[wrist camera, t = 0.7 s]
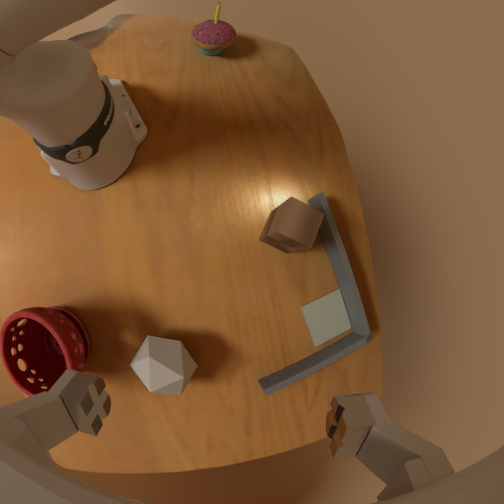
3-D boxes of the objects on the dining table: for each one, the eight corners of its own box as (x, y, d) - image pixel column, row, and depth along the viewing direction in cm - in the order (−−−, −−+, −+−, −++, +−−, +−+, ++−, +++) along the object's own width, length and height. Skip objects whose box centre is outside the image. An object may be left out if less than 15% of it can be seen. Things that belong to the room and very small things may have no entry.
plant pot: (47, 376, 35) (14, 401, 23) (30, 304, 35) (-10, 312, 23) (107, 375, 37) (83, 407, 26) (90, 298, 38) (56, 307, 26)
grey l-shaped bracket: (200, 238, 42) (200, 234, 38) (313, 198, 46) (323, 192, 42) (260, 385, 42) (266, 395, 38) (359, 334, 47) (372, 339, 43)
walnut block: (258, 240, 44) (276, 231, 34) (270, 211, 45) (291, 196, 35) (286, 253, 45) (311, 248, 35) (297, 225, 45) (324, 214, 36)
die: (141, 324, 40) (110, 370, 31) (187, 318, 37) (158, 372, 28) (167, 361, 43) (144, 407, 34) (212, 359, 41) (193, 411, 32)
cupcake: (193, 36, 44) (196, -5, 32) (233, 38, 46) (243, -2, 34) (189, 61, 43) (191, 18, 32) (232, 63, 45) (242, 21, 33)
